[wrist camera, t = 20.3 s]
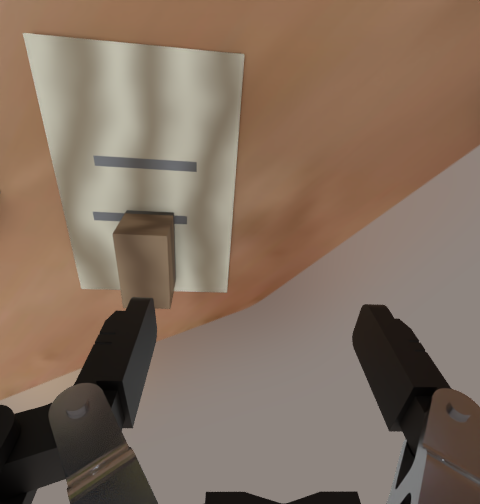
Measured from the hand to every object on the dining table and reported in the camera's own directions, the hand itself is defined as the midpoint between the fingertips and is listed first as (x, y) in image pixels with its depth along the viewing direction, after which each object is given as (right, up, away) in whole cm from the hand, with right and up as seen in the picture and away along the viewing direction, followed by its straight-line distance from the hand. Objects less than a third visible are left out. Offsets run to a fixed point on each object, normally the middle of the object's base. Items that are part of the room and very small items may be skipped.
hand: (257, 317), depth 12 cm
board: (-10, +10, +22) cm, 26 cm away
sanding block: (-11, +3, +24) cm, 26 cm away
